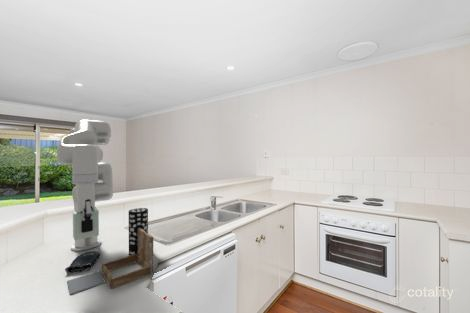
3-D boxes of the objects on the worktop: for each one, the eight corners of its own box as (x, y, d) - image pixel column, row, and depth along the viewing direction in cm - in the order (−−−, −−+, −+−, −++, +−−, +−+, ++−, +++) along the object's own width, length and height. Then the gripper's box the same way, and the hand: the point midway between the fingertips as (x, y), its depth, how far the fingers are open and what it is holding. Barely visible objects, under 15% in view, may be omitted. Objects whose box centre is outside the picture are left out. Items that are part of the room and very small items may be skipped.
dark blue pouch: (94, 273, 86) (103, 252, 100) (91, 261, 85) (101, 242, 99) (66, 281, 83) (80, 258, 97) (63, 268, 82) (77, 247, 96)
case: (101, 271, 84) (101, 236, 84) (140, 259, 94) (140, 227, 94) (111, 290, 72) (111, 249, 72) (154, 274, 82) (154, 237, 82)
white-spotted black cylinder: (128, 251, 102) (128, 209, 102) (147, 247, 106) (147, 207, 106) (128, 258, 95) (128, 213, 95) (149, 254, 99) (148, 211, 99)
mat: (67, 281, 77) (67, 280, 77) (99, 271, 84) (99, 270, 84) (69, 295, 70) (69, 294, 70) (105, 282, 77) (105, 281, 77)
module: (73, 236, 77) (72, 209, 76) (96, 231, 81) (95, 206, 81) (74, 240, 73) (74, 212, 73) (98, 235, 78) (98, 208, 77)
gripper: (70, 177, 81) (70, 226, 81) (75, 182, 68) (75, 239, 68) (93, 176, 86) (93, 221, 86) (102, 180, 73) (103, 233, 73)
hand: (85, 228), depth 77 cm, fingers closed on module, 5 cm apart
